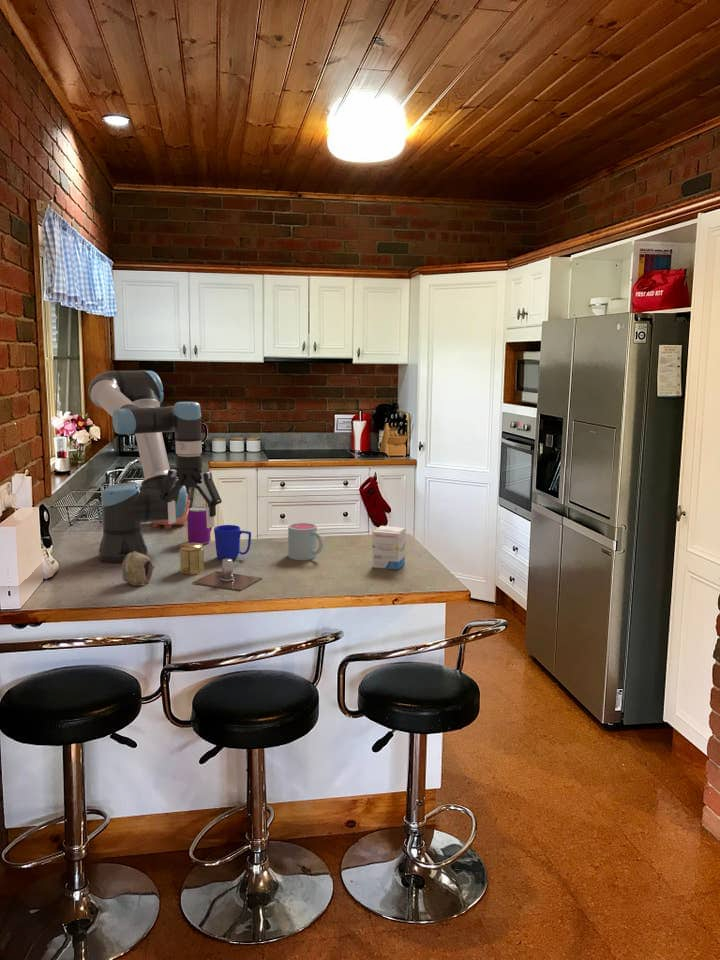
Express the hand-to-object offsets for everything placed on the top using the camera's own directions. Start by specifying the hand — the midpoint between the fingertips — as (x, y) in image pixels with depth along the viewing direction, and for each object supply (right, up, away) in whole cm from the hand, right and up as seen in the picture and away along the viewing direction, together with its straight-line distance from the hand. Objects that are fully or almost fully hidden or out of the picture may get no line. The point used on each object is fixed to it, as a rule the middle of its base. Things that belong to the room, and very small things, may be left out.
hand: (191, 525), depth 229 cm
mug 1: (+10, -12, +17) cm, 23 cm away
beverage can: (-5, -8, +36) cm, 37 cm away
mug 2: (+33, -12, +19) cm, 40 cm away
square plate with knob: (+12, -16, -6) cm, 21 cm away
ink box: (+60, -13, +12) cm, 62 cm away
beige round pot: (-13, -16, -9) cm, 23 cm away
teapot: (-21, -4, +58) cm, 62 cm away
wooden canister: (0, -14, +3) cm, 14 cm away
